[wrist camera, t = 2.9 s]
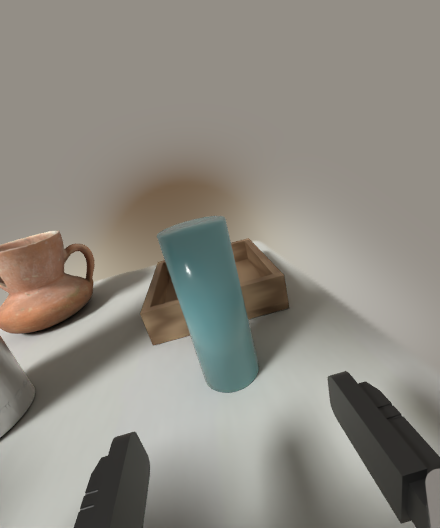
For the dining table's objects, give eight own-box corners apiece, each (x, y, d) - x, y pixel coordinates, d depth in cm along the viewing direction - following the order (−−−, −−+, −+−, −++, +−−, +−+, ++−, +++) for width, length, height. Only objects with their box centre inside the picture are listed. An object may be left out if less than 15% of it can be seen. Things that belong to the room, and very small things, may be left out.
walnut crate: (152, 345, 30) (140, 313, 28) (165, 283, 47) (158, 262, 45) (289, 308, 30) (284, 275, 29) (253, 260, 47) (248, 238, 46)
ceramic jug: (-8, 363, 35) (-72, 271, 30) (2, 325, 46) (-42, 254, 41) (119, 304, 44) (87, 226, 39) (101, 285, 55) (75, 222, 50)
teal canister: (206, 399, 21) (152, 244, 16) (203, 357, 26) (160, 227, 21) (265, 382, 21) (230, 223, 16) (251, 344, 26) (220, 212, 21)
